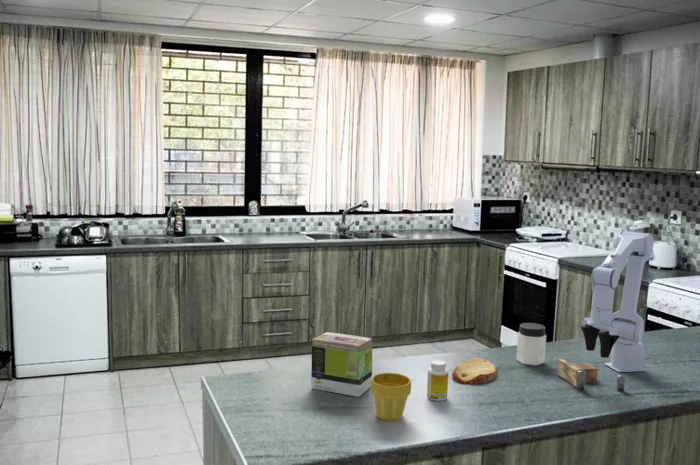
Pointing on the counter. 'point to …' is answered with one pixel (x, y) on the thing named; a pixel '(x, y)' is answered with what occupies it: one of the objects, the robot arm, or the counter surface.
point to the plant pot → (390, 394)
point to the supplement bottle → (437, 381)
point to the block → (587, 370)
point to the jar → (531, 344)
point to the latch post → (620, 383)
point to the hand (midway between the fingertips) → (597, 353)
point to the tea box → (341, 363)
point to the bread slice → (474, 371)
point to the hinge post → (581, 380)
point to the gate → (567, 371)
